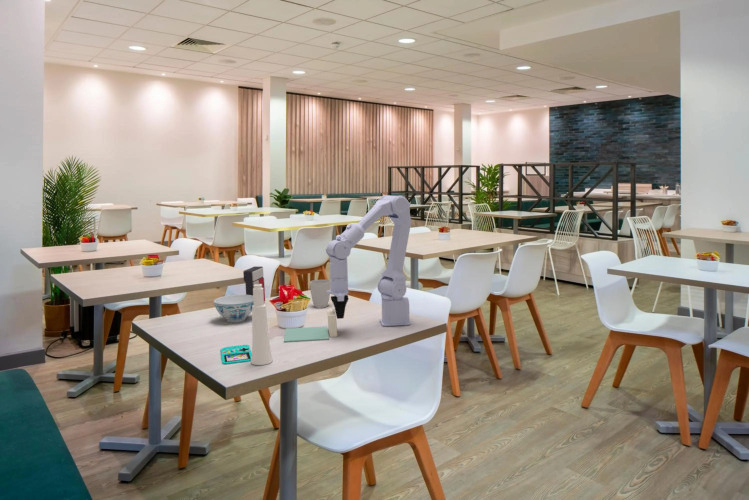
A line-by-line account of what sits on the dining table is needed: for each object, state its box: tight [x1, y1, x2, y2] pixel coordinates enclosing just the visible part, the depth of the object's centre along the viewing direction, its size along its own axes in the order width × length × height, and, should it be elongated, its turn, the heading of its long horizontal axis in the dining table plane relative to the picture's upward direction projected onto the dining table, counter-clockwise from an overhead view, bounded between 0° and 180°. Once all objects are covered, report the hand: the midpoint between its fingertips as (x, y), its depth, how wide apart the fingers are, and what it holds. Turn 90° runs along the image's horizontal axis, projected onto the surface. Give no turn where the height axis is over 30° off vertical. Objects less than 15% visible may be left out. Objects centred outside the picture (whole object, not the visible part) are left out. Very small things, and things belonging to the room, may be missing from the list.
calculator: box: [243, 266, 266, 303], centre depth 219 cm, size 11×4×15 cm, turn 168°
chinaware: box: [213, 294, 254, 323], centre depth 197 cm, size 15×15×8 cm
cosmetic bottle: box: [250, 284, 274, 366], centre depth 150 cm, size 6×6×22 cm
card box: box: [326, 308, 338, 338], centre depth 178 cm, size 3×8×7 cm, turn 7°
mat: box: [283, 325, 330, 343], centre depth 177 cm, size 14×14×1 cm
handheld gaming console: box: [220, 344, 252, 366], centre depth 158 cm, size 8×1×15 cm
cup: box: [309, 279, 331, 309], centre depth 214 cm, size 8×8×10 cm
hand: (340, 318), depth 178 cm, fingers closed
